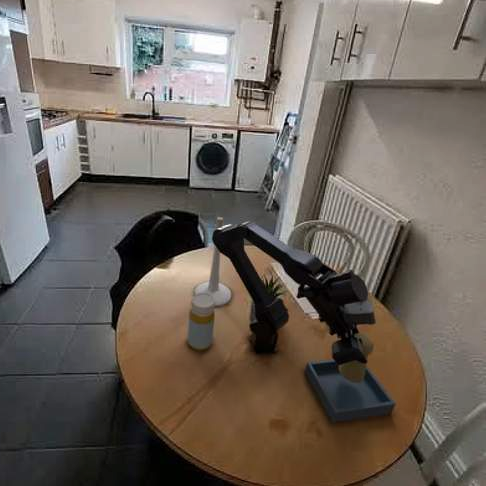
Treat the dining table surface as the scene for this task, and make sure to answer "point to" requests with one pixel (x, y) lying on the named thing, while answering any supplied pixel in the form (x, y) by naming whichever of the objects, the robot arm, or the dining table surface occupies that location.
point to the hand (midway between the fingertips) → (364, 354)
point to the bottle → (201, 321)
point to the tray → (347, 393)
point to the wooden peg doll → (357, 362)
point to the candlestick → (215, 278)
